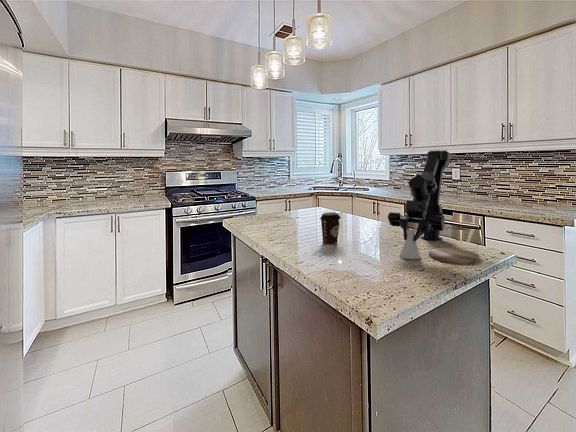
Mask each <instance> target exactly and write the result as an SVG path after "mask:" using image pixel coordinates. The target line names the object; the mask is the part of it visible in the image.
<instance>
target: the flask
mask: <svg viewBox="0 0 576 432" xmlns="http://www.w3.org/2000/svg"><path fill="white" fill-rule="evenodd" d="M416 231H417V229H416V230H415V229H410V228H409V229H408V230H406V232H407V237H406V240H404V245H403V247H402V249H401V251H400V254H399V257H400V258H401V259H406V260H420V259H421V254H420V252H419V248H418V245H417V240H416V241H414V236H415V234H416Z"/></svg>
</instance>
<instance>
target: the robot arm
mask: <svg viewBox="0 0 576 432" xmlns="http://www.w3.org/2000/svg"><path fill="white" fill-rule="evenodd" d="M450 160H451V153H450V152H449V151H448V150H430V151H427V154H426V162H425V164H424V168H423V171H422V173H421V174H416V175H415V176H414V177H412V178H411V179H409V180H408V187H409V191H410V195H411V197H413V199H412V200H409V199H408V200H406V202H405V206H404V207H405V208H404V210H406V212H405V214H406V215H403V214H402V215H401V213H400V212H394V211H393V212H392V211H391V212H389V213H388V215H387V219H388V222H389V225H390V226H392V227H400V228H401V229H402V230H403V240H404V241H406V237H407V232H406V230H408V229H410V226H409V224H414V225H415V224H416V225H418V226H417V228H416V232H415V236H414V241H416V242H417V240H418V239H419V238H420V239H424V240H428V241H434V242H435V241H439V240H443V237H442V236H441V237H440V232H441V231H444V227H445V223H446V221H445V215H444V212H443V209H442V207H441V205H440V198H441V189H442V183H443V182H442V181H443V173H444V171H445V169H446V168H447V167H448V165H449V162H450Z"/></svg>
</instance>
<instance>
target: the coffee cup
mask: <svg viewBox="0 0 576 432" xmlns="http://www.w3.org/2000/svg"><path fill="white" fill-rule="evenodd" d="M319 219H320V223H321V231H322V234H321V236H322V244H323V245H329V246H331V245H336V244H338V240H339V239H338V238H339V231H340V220H341V216H340V214H339V212H322V213H321V216H320V218H319Z"/></svg>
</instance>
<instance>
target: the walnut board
mask: <svg viewBox="0 0 576 432" xmlns="http://www.w3.org/2000/svg"><path fill="white" fill-rule="evenodd" d="M428 256H429V257H430V258H431V259H433V260H435V261H438V262H443V263H447V264H456V265H471V264H477V263H479V262H480V258H481V257H480V255H479V254H478V253H476V252H475V251H471V250H466V249H462V248H461V249H460V248H454V247H435V248H433V249H432V248H431V249H430V250H429V251H428Z"/></svg>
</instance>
